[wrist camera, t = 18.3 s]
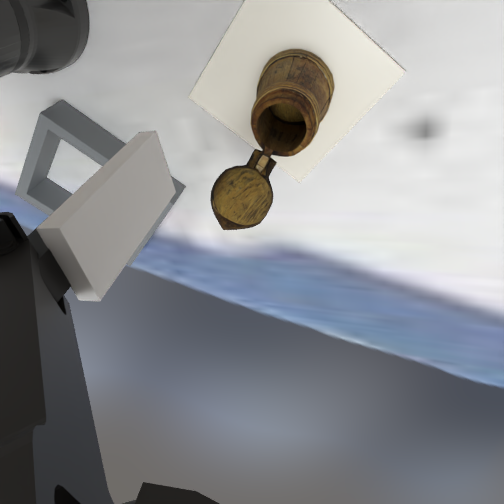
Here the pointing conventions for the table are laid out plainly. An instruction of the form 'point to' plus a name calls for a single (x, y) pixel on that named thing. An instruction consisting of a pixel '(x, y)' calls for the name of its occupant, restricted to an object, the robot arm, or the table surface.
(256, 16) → the cream board
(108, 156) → the hollow square frame
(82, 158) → the table surface
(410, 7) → the table surface
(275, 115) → the wooden mug
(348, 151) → the table surface
